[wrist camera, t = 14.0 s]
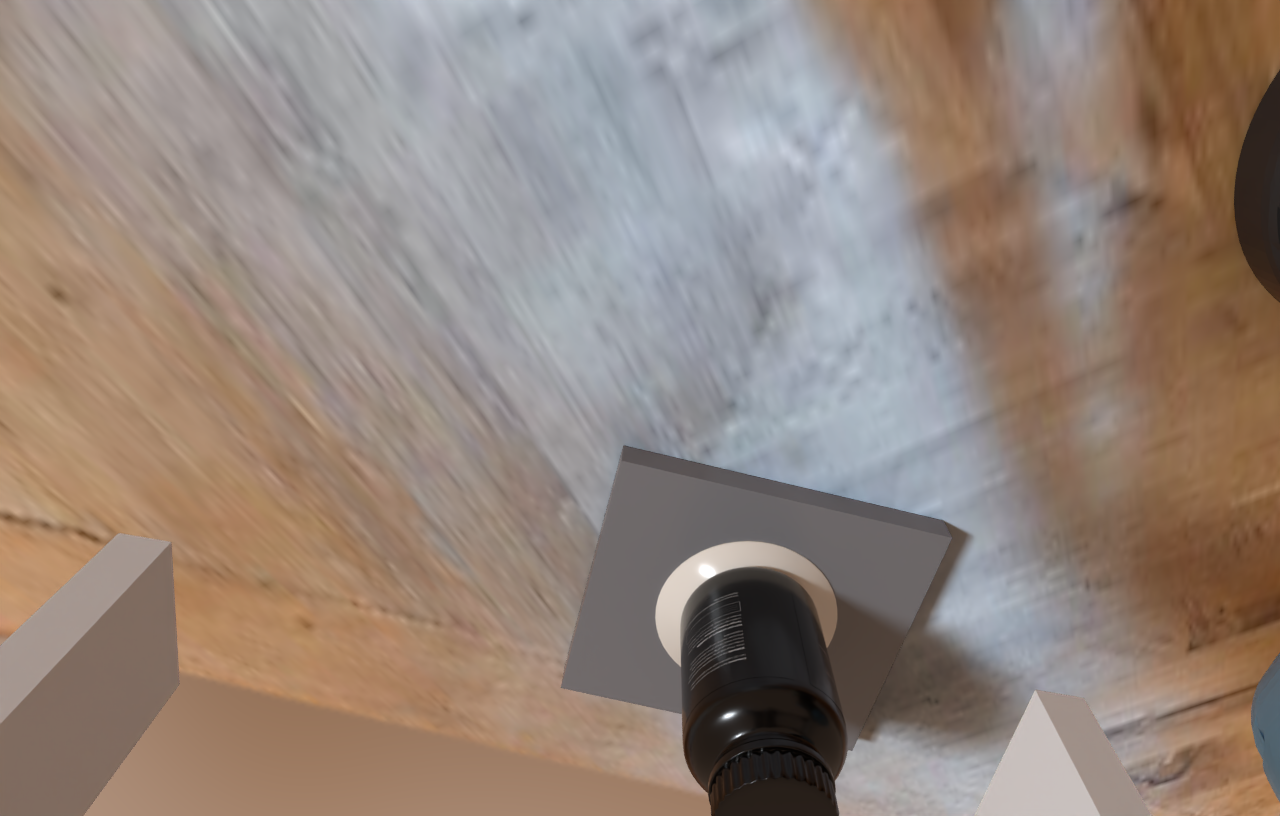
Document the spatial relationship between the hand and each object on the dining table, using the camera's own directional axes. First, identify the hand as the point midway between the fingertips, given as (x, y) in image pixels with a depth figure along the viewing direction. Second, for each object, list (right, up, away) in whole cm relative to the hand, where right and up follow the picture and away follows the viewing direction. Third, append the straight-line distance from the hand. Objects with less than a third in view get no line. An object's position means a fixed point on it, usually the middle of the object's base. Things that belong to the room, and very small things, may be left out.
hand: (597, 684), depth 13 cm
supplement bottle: (+6, -6, +30) cm, 31 cm away
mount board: (+6, -5, +32) cm, 33 cm away
